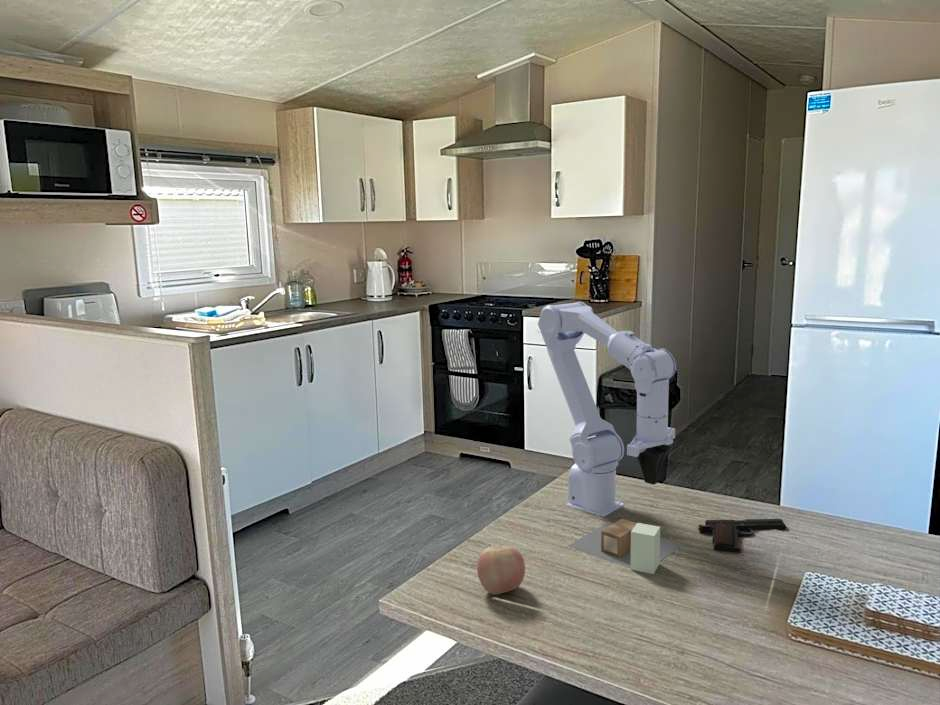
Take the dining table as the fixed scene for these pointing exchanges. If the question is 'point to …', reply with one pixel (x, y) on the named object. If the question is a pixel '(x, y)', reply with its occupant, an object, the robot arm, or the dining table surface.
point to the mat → (593, 546)
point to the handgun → (736, 531)
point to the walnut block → (617, 538)
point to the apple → (500, 569)
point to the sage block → (645, 548)
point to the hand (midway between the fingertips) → (651, 482)
